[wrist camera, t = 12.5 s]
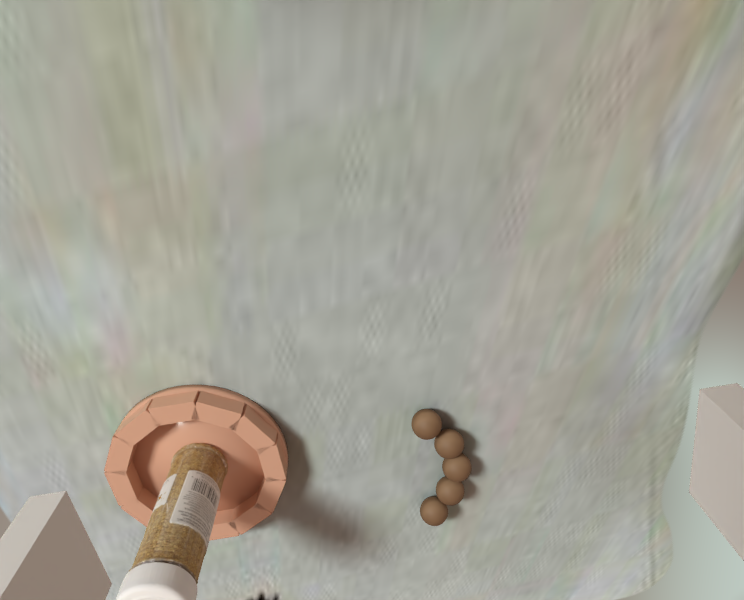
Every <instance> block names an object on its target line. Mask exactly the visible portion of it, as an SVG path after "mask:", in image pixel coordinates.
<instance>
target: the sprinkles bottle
mask: <svg viewBox="0 0 744 600" xmlns="http://www.w3.org/2000/svg"><path fill="white" fill-rule="evenodd" d="M227 472H228V463H227V459H226V458H225V456H224V455H223V454H222V453H221V452H220V451H219V450H218V449H216V448H215V447H213V446H211V445H208V444H203V443H191V444H189V445H186V446H184V447H182V448H181V449H180V450H178V451H177V452H176V453H175V455H174V456H173V459H172V461H171V468H170V470H169V473H168V475H167V478H166V481H165V482H164V484H163V486H162V489H161V491H160V494H159V496H158V499H157V501H156V504H155V507H154V509H153V512H152V515H151V517H150V520H149V522H148V525H147V528H146V531H145V535H144V538H143V540H142V542H141V546H140V548H139V551H138V553H137V556H136V558H135V561H134V564H133V566H132V568H131V569H130V570H129V572H128V573H127V575H126V576H125V577H124V580H123V582H122V584H121V587H120V590H119V592H118V595H117V598H116V600H196V596H197V583H198V577H199V573H200V570H201V566H202V562H203V559H204V556H205V554H206V551H207V547H208V543H209V539H210V535H211V532H212V528H213V524H214V520H215V516H216V512H217V508H218V504H219V500H220V492H221V489H222V484H223V481H224V478H225V476H226V474H227Z"/></svg>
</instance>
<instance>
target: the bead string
mask: <svg viewBox="0 0 744 600" xmlns="http://www.w3.org/2000/svg"><path fill="white" fill-rule="evenodd" d="M441 428H442V422H441V418H440V416H439V415H438V414H437V413H436V412H435V411H433V410H431V409H422V410H420V411H418V412H417V413H416V414H415V415H414V416H413V419H412V429H413V431H414V433H415V434H416V435H417V436H418V437H419V438H421V439H426V440H428V439H433V438H435V437H436V438H435V442H434V445H435V449H436V451H437V453H438V454H439V455H440V456H441V457H443V458H445V459H444V461H443V464H442V468H443V472H444V474H445V477H443V478H441V479H440V480H439V481H438V483H437V486H436V494H437V497H436V496H431V497H428V498H426V499H425V500H424V501H423V502H422V504H421V507H420V514H421V517H422V519H423V520H424V521H425V522H426V523H427V524H429V525H432V526H438V525H440V524H442V523H443V522H444V521H445V520H446V518H447V516H448V508H447V505H456V504H458V503H459V502H460V501H461V500H462V499H463V496H464V486H463V484H462V481H464V480H466V479H467V478H468V477H469V475H470V473H471V462H470V460H469V459H468V457H467V456H466V455H464V454H463V453H462V451H463V449H464V440H463V437H462V436H461V434H460V433H459V432H457V431H456V430H453V429H444V430H442V431H441Z"/></svg>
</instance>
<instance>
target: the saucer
mask: <svg viewBox="0 0 744 600" xmlns="http://www.w3.org/2000/svg"><path fill="white" fill-rule="evenodd" d="M191 443H203V444H208V445H211V446H213V447H215V448H216V449H218V450H219V451H220V452H221V453H222V454H223V455H224V456H225V458H226V459H227V463H228V472H227V474H226V476H225V478H224V481H223V484H222V489H221V492H220V500H219V504H218V508H217V512H216V516H215V520H214V524H213V528H212V532H211V535H210V539H209V540H215V539H221V538H228V537H234V536H239V534H241V535H242V534H243V533H245V532H246V531H248V530H249V529H251V528H252V527H254V526H255V525H257V524H258V523H259V522H261V521H262V520H264V519H265V518H267V517H268V516H270V515H271V514H272V512H274V509H275V507H276V504H277V502H278V500H279V497H280V495H281V492H282V490H283V487H284V485H285V483H286V477H287V467H288V450H287V444H286V441H285V438H284V435H283V433H282V431H281V430H280V428H279V426H278V425H277V423H276V422H275V420H274V419H273V418H272V417H271V416H270V415H269V414H268V413H267V412H266V411H265V410H264V409H263V408H262V407H260V406H259V405H258V404H257V403H255V402H253V401H252V400H250V399H249V398H247V397H245V396H243V395H241V394H238V393H236V392H233V391H230V390H227V389H224V388H220V387H215V386H208V385H183V386H176V387H171V388H167V389H164V390H161V391H158V392H156V393H154V394H152V395H150V396H148V397H146V398H144V399H143V400H142V401H140V402H139V403H137V404H136V405H135V406H134V407H133V408H132V409H131V410H130V411H129V412H128V413H127V415H126V416H125V417H124V419H123V421H122V422H121V424H120V425H119V427H118V429H117V430H116V432H115V434H114V436H113V438H112V442H111V446H110V450H109V454H108V458H107V462H106V465H105V469H104V471H105V476H106V478H107V480H108V482H109V485H110V487H111V489H112V491H113V493H114V496H115V498H116V500H117V502H118V505H119V506H121V508H122V509H123V510H124V511H126V512H127V513H128V514H130V515H131V516H132V517H134V518H135V519H137V520H138V521H139V522H141V523H142V524H143V525H145V526H146V527H147V525H148V522H149V520H150V517H151V515H152V512H153V509H154V507H155V504H156V501H157V499H158V496H159V494H160V491H161V489H162V486H163V484H164V482H165V481H166V478H167V475H168V473H169V470H170V468H171V461H172V459H173V456H174V455H175V453H176V452H177V451H178V450H180V449H181V448H182V447H184V446H186V445H189V444H191Z"/></svg>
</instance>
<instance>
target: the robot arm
mask: <svg viewBox="0 0 744 600" xmlns="http://www.w3.org/2000/svg"><path fill="white" fill-rule="evenodd" d="M689 493H690V494H691V495H692V497H693V498H694V499H695V500H696V502H697V503H698V504H699V505H700V507H701V508H702V509H703V510H704V512H705V513H706V514H707V515H708V517H709V518H710V519H711V520H712V522H713V523H714V524H715V525H716V527H717V528H718V529H719V531H720V532H721V533H722V534H723V536H724V537H725V538H726V539H727V541H728V542H729V543H730V544H731V545H732V547H733V548H734V549H735V551H736V552H737V553H738V554H739V556H740V557H741V558H742V559H743V561H744V388H743V387H741V386H740V385H739V384H737V383H735V384H729V385H722V386H716V387H710V388H705V389H700V392H699V401H698V411H697V421H696V431H695V440H694V450H693V459H692V469H691V479H690V489H689ZM111 585H112V583H111V581H110V579H109V577H108V575H107V573H106V571H105V569H104V567H103V565H102V563H101V561H100V559H99V557H98V555H97V553H96V551H95V548H94V546H93V544H92V542H91V540H90V538H89V536H88V534H87V532H86V530H85V528H84V526H83V524H82V522H81V520H80V518H79V516H78V514H77V512H76V510H75V508H74V506H73V504H72V502H71V500H70V498H69V496H68V494H67V492H66V491H62V492H56V493H50V494H43V495H37V496H31V497H29V498H28V500H27V501H26V503H25V504H24V506H23V507H22V509H21V510H20V511H19V513H18V514H17V516H16V517H15V519H14V520H13V522H12V523H11V524H10V526H9V527H8V529H7V530H6V532H5V533H4V535H3V536H2V537H1V539H0V600H105V599H106V596H107V594H108V592H109V589H110V587H111Z"/></svg>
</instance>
